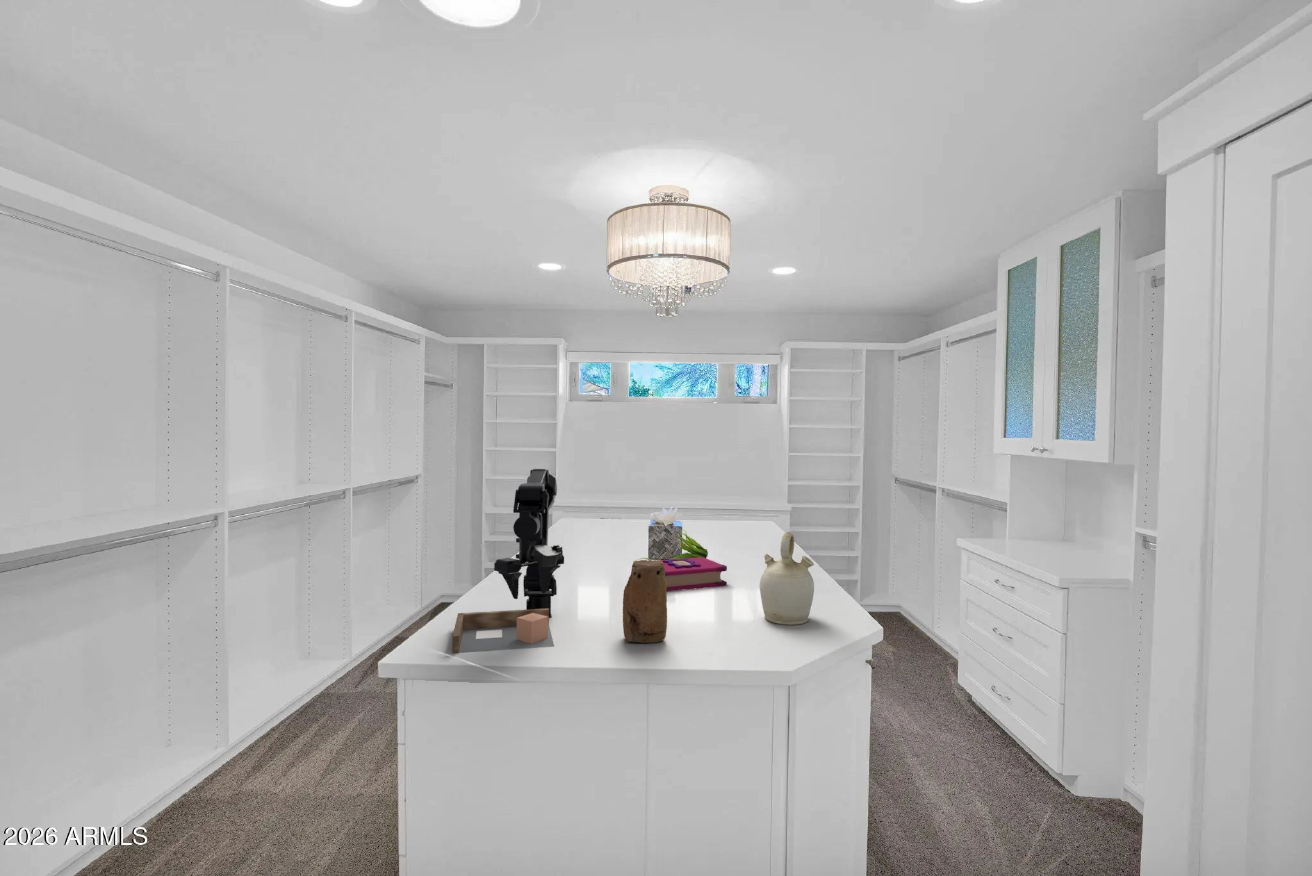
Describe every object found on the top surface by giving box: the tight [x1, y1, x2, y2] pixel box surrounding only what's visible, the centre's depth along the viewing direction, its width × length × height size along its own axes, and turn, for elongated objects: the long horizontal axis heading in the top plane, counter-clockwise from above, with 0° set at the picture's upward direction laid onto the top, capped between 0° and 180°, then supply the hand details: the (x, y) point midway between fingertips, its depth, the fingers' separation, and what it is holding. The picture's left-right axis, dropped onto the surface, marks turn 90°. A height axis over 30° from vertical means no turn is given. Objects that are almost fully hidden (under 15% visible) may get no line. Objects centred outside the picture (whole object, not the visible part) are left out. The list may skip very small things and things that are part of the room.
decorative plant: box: [633, 527, 709, 562], centre depth 263 cm, size 18×30×15 cm, turn 84°
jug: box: [759, 531, 815, 626], centre depth 184 cm, size 15×16×25 cm
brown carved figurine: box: [622, 559, 668, 644], centre depth 164 cm, size 11×8×20 cm
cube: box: [517, 613, 548, 644], centre depth 164 cm, size 6×6×6 cm
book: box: [656, 557, 728, 592], centre depth 228 cm, size 21×28×8 cm
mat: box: [458, 623, 555, 654], centre depth 165 cm, size 24×20×1 cm
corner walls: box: [451, 608, 550, 654], centre depth 165 cm, size 24×20×4 cm
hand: (530, 595), depth 163 cm, fingers open, 9 cm apart
